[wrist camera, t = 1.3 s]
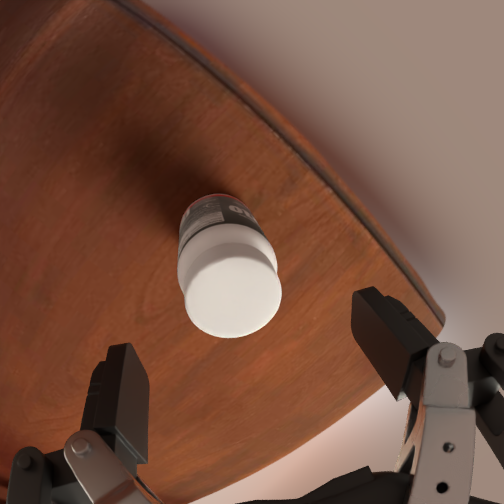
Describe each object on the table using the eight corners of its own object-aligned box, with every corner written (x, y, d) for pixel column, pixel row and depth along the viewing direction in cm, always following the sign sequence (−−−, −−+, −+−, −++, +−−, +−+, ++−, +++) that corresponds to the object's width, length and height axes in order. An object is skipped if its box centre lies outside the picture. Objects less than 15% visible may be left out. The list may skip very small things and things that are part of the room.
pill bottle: (266, 236, 21) (310, 308, 13) (207, 273, 21) (220, 361, 14) (228, 177, 19) (256, 223, 11) (164, 219, 19) (152, 291, 12)
